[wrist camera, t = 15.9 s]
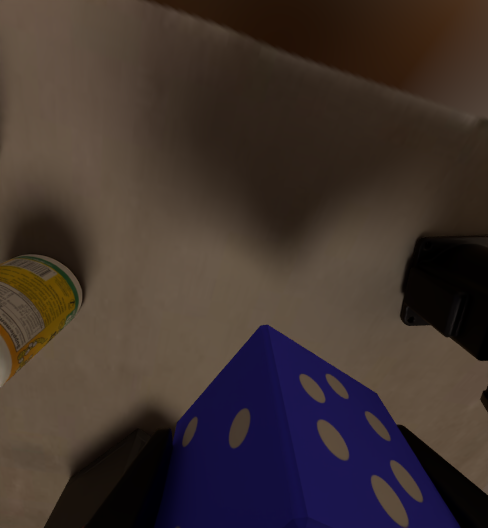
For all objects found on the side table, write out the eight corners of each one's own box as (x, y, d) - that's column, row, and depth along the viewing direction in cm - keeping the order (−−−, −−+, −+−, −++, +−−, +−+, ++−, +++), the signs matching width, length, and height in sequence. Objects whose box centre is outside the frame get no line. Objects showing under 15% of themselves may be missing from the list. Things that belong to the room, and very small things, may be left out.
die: (286, 474, 11) (327, 718, 6) (175, 421, 9) (118, 673, 5) (377, 392, 9) (523, 621, 5) (262, 319, 8) (302, 526, 3)
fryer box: (138, 427, 23) (109, 507, 18) (221, 486, 26) (218, 570, 20) (69, 479, 25) (23, 565, 19) (153, 528, 28) (134, 615, 22)
